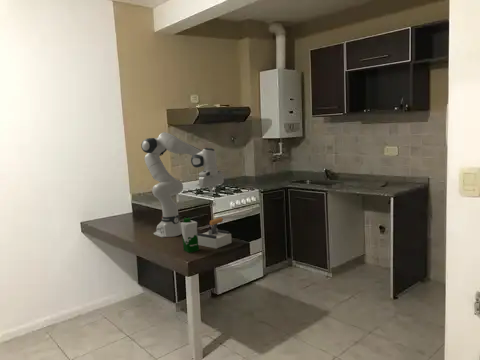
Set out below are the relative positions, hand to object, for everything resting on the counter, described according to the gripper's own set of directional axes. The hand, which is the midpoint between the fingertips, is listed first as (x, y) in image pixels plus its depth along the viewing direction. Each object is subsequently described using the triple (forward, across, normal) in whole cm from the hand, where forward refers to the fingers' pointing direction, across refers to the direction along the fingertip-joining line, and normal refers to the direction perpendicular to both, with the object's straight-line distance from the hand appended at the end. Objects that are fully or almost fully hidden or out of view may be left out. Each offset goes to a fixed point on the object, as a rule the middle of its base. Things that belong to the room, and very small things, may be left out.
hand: (212, 192), depth 271 cm
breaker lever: (+24, +12, +10) cm, 28 cm away
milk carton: (+31, +30, +8) cm, 44 cm away
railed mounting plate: (+25, +12, +10) cm, 30 cm away
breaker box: (+31, +12, +10) cm, 35 cm away
